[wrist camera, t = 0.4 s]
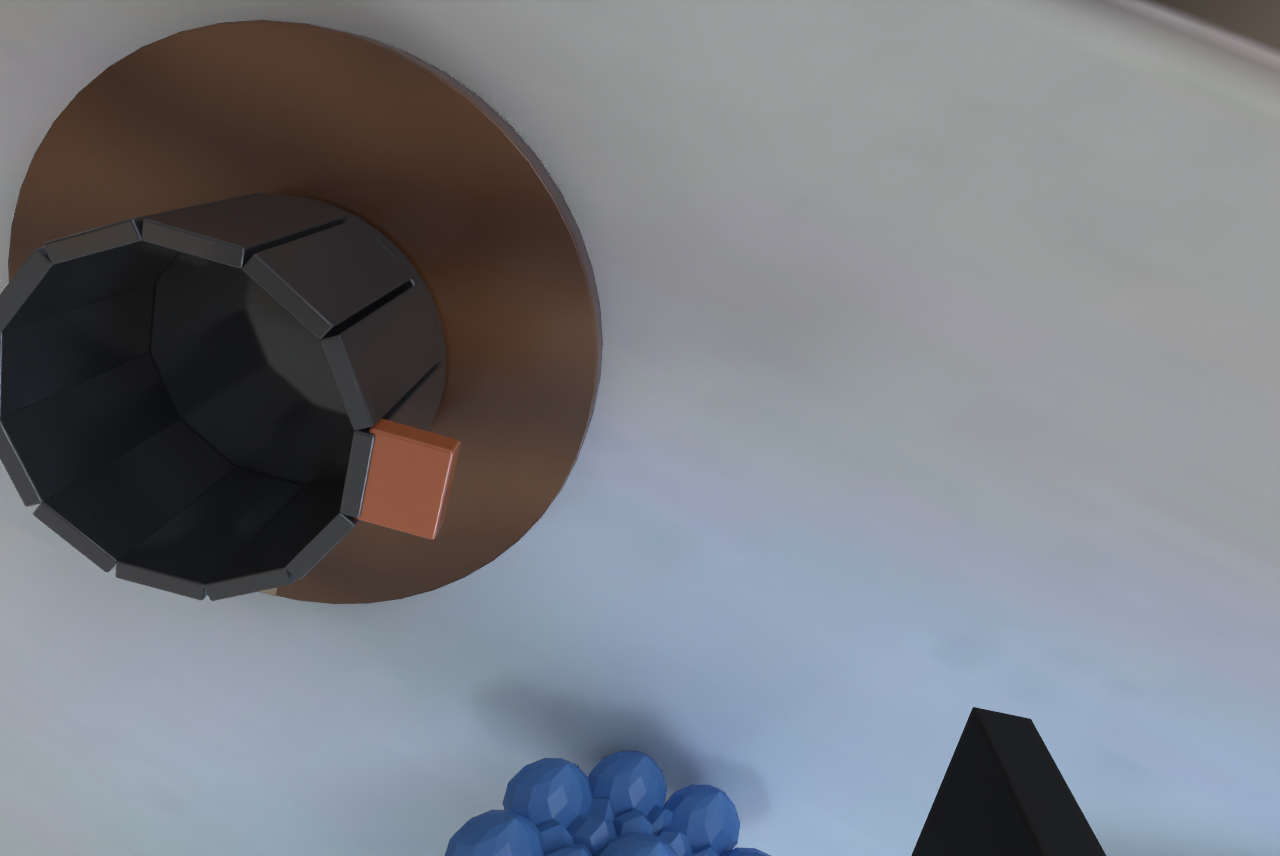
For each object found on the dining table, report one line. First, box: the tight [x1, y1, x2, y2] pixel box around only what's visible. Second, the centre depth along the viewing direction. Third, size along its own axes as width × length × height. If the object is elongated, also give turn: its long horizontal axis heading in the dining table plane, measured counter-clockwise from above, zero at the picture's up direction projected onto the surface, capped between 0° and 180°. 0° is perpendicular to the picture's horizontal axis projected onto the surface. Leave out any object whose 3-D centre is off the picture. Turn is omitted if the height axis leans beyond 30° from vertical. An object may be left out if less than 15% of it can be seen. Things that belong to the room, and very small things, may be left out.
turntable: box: [8, 20, 603, 604], centre depth 27 cm, size 18×18×2 cm
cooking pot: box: [0, 192, 461, 601], centre depth 23 cm, size 9×13×7 cm
